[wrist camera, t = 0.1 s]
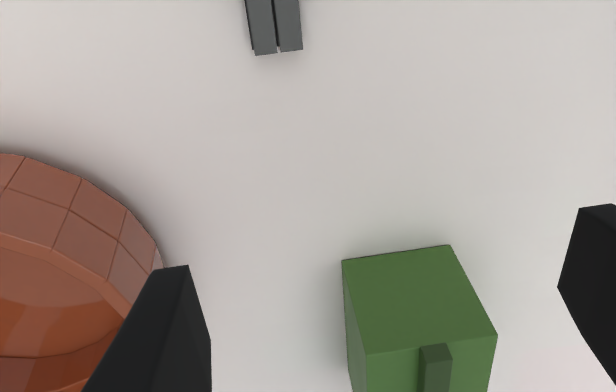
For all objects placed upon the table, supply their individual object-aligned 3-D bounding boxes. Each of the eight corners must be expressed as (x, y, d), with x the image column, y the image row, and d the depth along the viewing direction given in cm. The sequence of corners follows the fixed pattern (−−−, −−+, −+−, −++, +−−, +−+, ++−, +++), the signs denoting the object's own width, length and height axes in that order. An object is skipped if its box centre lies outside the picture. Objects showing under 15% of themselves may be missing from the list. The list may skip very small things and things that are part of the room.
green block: (438, 356, 28) (482, 466, 23) (348, 370, 28) (373, 485, 23) (450, 242, 23) (508, 351, 18) (340, 258, 23) (370, 372, 18)
